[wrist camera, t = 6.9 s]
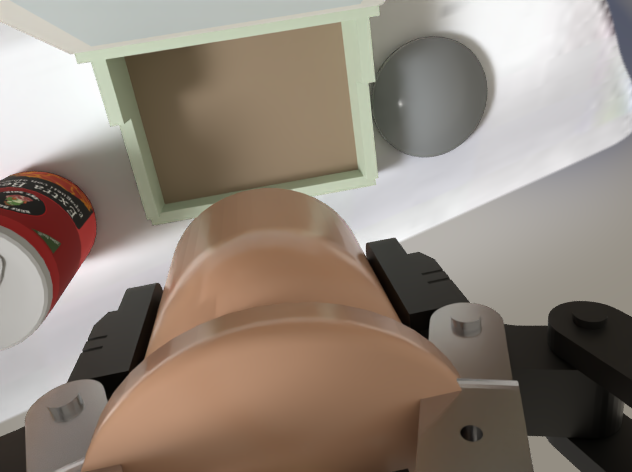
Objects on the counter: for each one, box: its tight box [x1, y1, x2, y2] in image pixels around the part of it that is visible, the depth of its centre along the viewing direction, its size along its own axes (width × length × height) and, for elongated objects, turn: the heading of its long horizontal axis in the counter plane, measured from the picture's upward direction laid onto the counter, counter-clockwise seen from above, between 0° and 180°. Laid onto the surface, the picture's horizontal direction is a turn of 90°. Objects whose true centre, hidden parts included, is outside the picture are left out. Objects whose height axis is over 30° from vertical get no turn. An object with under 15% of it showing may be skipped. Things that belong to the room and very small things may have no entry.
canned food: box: [0, 171, 96, 351], centre depth 32 cm, size 8×8×11 cm
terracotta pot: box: [81, 188, 462, 472], centre depth 10 cm, size 6×6×9 cm
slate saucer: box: [371, 37, 487, 157], centre depth 37 cm, size 8×8×1 cm
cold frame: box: [75, 5, 380, 225], centre depth 33 cm, size 12×16×8 cm
